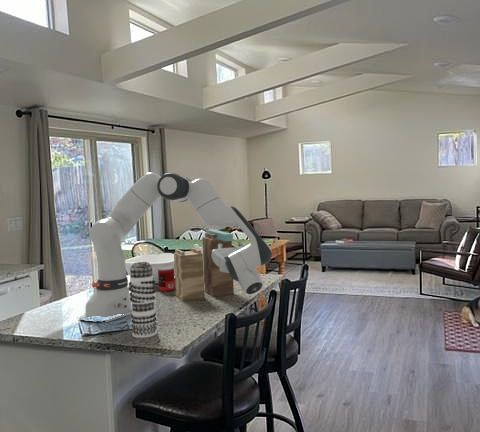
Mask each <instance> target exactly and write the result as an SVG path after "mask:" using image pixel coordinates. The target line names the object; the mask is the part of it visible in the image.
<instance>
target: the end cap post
mask: <svg viewBox="0 0 480 432" xmlns="http://www.w3.org/2000/svg"><path fill="white" fill-rule="evenodd" d="M201 239H202V248H203V261H204V293H206V294H208V295H210V297H213V298H215V297H223V296H229V295H231V296H232V295H234V292H235V291H234V279H232V277H231V275H230V273H227V272H221V271H220V270H219V268H220V267H218V266H217V265H216V264H215V263H214V261H213V259H212V257H211V254H212V251H213V249H218V244H222V245H223V247H222V248H233V244H232V243H233V241H222V240H219V239H216V235H214V234H210V233H206V232H204V236H203V237H202V238H201Z"/></svg>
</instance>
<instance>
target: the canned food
mask: <svg viewBox="0 0 480 432" xmlns="http://www.w3.org/2000/svg"><path fill="white" fill-rule="evenodd" d="M158 280H159V284H158V289H159V291H160V292H164V293H166V292H173V291H174V290H176V287H175V276H174V267H170V266H167V267H160V268H158Z"/></svg>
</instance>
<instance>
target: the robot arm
mask: <svg viewBox="0 0 480 432" xmlns="http://www.w3.org/2000/svg"><path fill="white" fill-rule="evenodd" d="M160 198H163V199H164V200H167V201H170V202H173V203H175V202H176V203H178V202H179V203H183V202H187V201H189V202H190V203H191V205H192V207H193V209H194V210H195V212H196V214H197V216H198V217H199V219H200V220H201V221H202V222H203V223H205V224H206V225H209V226H222V225H235V226H237V227H239V228H240V229H241V230H242V233H244V234H245V236H246V237H247V238H248V240H250V241H249V243H248V244H245V243H243V241H238V243H237V245H238V246H236V247H232V248H222V247H223V245H222V244H218V249H213V251H212V254H211V257H212V259H213V261H214V263H215V264H216V265H217V266H218V267H220V268H219V270H220V271H221V272H227V273H230V275H231V277H232V279H233V281H236V282H238V284H239V286H240V287H241V288H242V290H243V291H244V292H245V294H247V295H252V294H255V293H258V292H259V291H261V289H262V288H263V287H264V286H263V280H262V278H261V275H260V273H259V271H258V268H259V267H261V266H264V265H266V264H269V263H270V261H271V259H272V257H273V252H272V248H271V247H270V245H269V244H268V242H266V240H265V239H263V238H262V237H261V236H260V234H259V233H258V232H257V231H256V230H255V229H254V227H253V226H252V225H251V223H250V222H249V220H248V219H247V218H246V217H245V216H244V215H243V213H241V212H240V211H239V210H238V208H236V207H235V206H232V205H231V206H230V205H228V204H226V203H225V202H224V201H223V199H222V198H221V196H220V194H219V193H218V191H217V190H216V188H215V187H214V185H212V183H211V182H210V181H209V180H208V179H207V178H203V177H202V178H201V177H200V178H197V179H195V180H190V179H189V178H188V177H186V176H185V175H182V174H179V173H174V172H168V173H164V174H163V175H160V174H158V173H155V172H153V171H151V172H147V173H145V174H144V175H143V176H141V177H139V179H138V180H137V181H136V182H134V184H133V185H131V187H130V188H129V189H128V190H127V191H126V192H125V193H124V194H123V196H121V198H120V199H119V200H118V201H117V204H116V205H115V206H114V208H113V209H112V211H111V212H110V214H108V216H106V217H105V218H102V219H99V220H97V221H95V222H94V224H93V225H92V226H91V228H90V229H89V239H90V241H91V242H92V243H93V247H94V251H95V257H96V262H97V273H98V276H97V277H98V279H97V281H96V282H92V283H91V287H92V288H95V289H96V290H95V291H94V292H93V293H92V295H91V296H90V298H89V299H88V300H87V301H86V303H85V309H84V310H85V313H84V314H83V315H81V316H80V317H79V321H81V317H92V316H101V317H107V316H113V315H117V314H122V315H121V316H118V317H115V318H112V319H109V320H104V321H105V322H104V323H109V322H112V321H114V320H118V319H120V318H124V317H127V316H130V315H132V303H131V301H130V297H131V296H130V293H131V292H130V290H129V280H128V276H127V270H126V263H125V260H126V256H125V254H124V253H123V248H122V243H121V242H122V241H123V240H124V239H125V238H126V237H127V236H128V235H129V233H130V232H131V231H132V230H133V229H134V227H135V226H136V225H137V223H138V221H140V219H141V218H142V217H143V216H144V215H145V213H146V212H147V211H148V210H149V209H150V208H151V207H152V206H153V205H154V204H155V202H157V200H159V199H160ZM123 314H124V315H123ZM82 319H83V318H82Z"/></svg>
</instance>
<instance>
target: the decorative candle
mask: <svg viewBox="0 0 480 432" xmlns="http://www.w3.org/2000/svg"><path fill="white" fill-rule="evenodd" d="M152 267H153V266H151V265H150V263H148V262H138V263H134V264H133V265H132V266H131V268H129V269H130V274H131V276H129V278H130V279H129V280H130V281H128V291H129V293H130V301H131V304H132V314H130V315H131V316H130V318H131V323H132V324H131V328H132V329H131V332H132V334H131V335H132V336H133V337H134V338H138V339H139V338H141V339H142V338H143V339H144V338H149V337H154V336H156V335H157V332H158V331H157V330H158V329H157V325H158V324H157V321H156V320H157V317H156V316H157V313H156V310H155V301H156V296H154V294H156V291H155V289H156V286H155V285H154V284H155V281H154V280H153V279H154V278H153V275H152Z"/></svg>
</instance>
